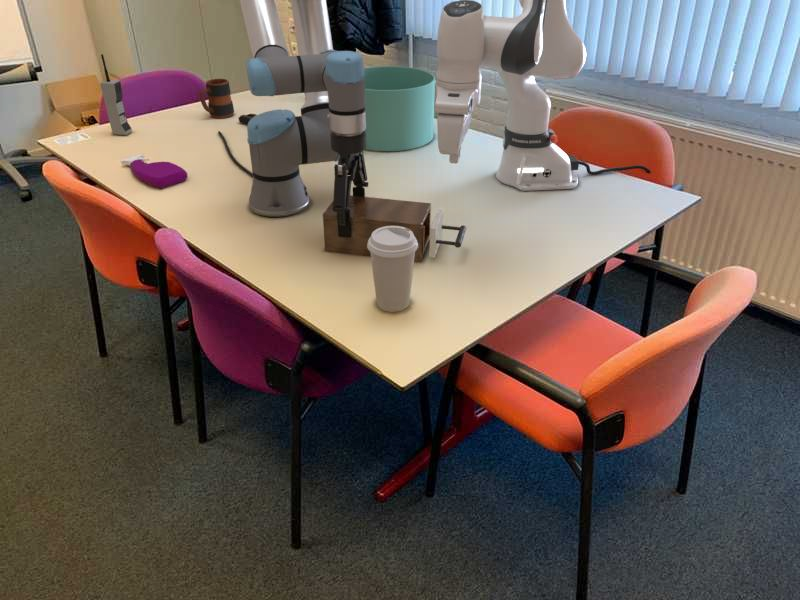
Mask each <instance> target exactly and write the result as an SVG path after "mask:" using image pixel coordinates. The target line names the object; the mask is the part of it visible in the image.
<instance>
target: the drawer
mask: <svg viewBox="0 0 800 600" xmlns="http://www.w3.org/2000/svg"><path fill="white" fill-rule="evenodd" d="M431 212H432V211H431ZM431 212H430V211H429V212H428V215H427V217H426V219H425V221H424V224H423V226H422V253H423V252H424V250H425V251H426V249H425V247H426V245H427V242H428V240H429V237H430V240H429V242H428V243H429V251H428V252H429V255H428V257H429V258H433V259H435V257H436V255H437V253H438V250H439V247H440V245H447V246H448V245H449V246H454V247H456V249H460V248H461V247H462V244H463V241H464V238H465V234H466V231H467V227H466V225H460V226H454V225H444V209H440V208H439V209H437V211H436V213H435V216H434V219H433V221H432V224H431V216H432V215H431V214H432V213H431ZM443 230H449V231H450V230H451V231H458V232H457V236H456V238H455V241H451V240H443ZM427 246H428V245H427ZM426 248H427V247H426ZM424 253H425V252H424Z"/></svg>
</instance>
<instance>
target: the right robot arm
mask: <svg viewBox="0 0 800 600" xmlns="http://www.w3.org/2000/svg"><path fill="white" fill-rule="evenodd" d="M518 1H519V5H520V6H521V8H522V12H521V13H520V14H519V15H517V16H514V17H505V16H493V15H488V14H484V8H483V5H482V4H481V3H480V2H478V1H475V0H455V1H451V2H449V3H446V5H444V6H443V7H442V9H441V12H440V16H439V23H438V29H437V39H436V58H437V61H438V65H437V70H436V74H435V96H434V114H437V116H436V117H437V119H436V120H437V121H436V122H437V123H436V124H437V125H436V126H437V127H436V129H437V147H438V151H439V154H440V155H446V156H447V155H448V156H449V157H448V158H449V159H448V160H449V163H450V164H458V163H459V160H460V159H461V150H462V144H463V142H464V140H465V138H466V135H467V134H468V131H469V128H470V126H471V124H472V113H473V112H474V108H475V107H476V106H478V105H479V104H481V96H482V79H483V74H482V69H487V70H495V71H496V72H497V73H498V76H499V77H500V79H501V80H502V83H503V85H504V88H505V92H506V97H507V98H506V99H507V114H506V115H507V116H506V125H505V127H504V131H503V135H502V136H503V137H502V148H503V149H502V151H503V152H502V154H501V159H500V162H499V167H498V169H497V172H496V175H495V177H496V180H498V181H499V182H501V183H502V184H504V185H507V186H511V187H515V189H517V190H519V191H522V192H529V191H530V192H531V191H550V190H551V191H552V190H572V189H576V188H577V186H578V184H579V178H578V175H577V173H576V171H578V170H579V168H580V167H579V166H584V167H585V168H586V172H587V174H589V175H591V176H595V175H601V174H603V173H611V172H619V171H620V172H621V171H629V170H635V169H640V170H643V171H645V172H646V173H648V174H649V173H650V174H651V173H652V171H651V169H649V167H647V166H645V165H641V164H634V165H627V166H618V167H610V168H603V169H599V170H596V171H592V170H591V167H590V165H589V164H588V163H587V162H585V161H583V160H582V161H581V160H579V159H578V158H577V157H576V156H575V155H574V154H567V153H566V152H565V151H564V150H563V149H561V148H560V147H559V146H558V145H557V143H558V141H559V138H558V135H557V134H555V131H554V130H553V129H552V127H551V128H549V122H550V114H551V107H552V104H551V99H550V97H549V95H548V94H547V92H545V91H544V90H543V89H541V87H539V85H538V83H537V81H536V78H541V79H547V80H552V81H553V80H554V81H555V80H557V81H558V80H569V79H570V80H571V79H574V78H576V76H578V74H579V73H580V72H581V71H582V69H583V67H584V66H585V62H586V59H587V49H586V46H585V43H584V41H583V40H582V38H581V37H580V36H578V34H577V33H576V32H575V30H574V28H573V26H572V24H571V21H570V20H569V16H568V12H567V0H518Z"/></svg>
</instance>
